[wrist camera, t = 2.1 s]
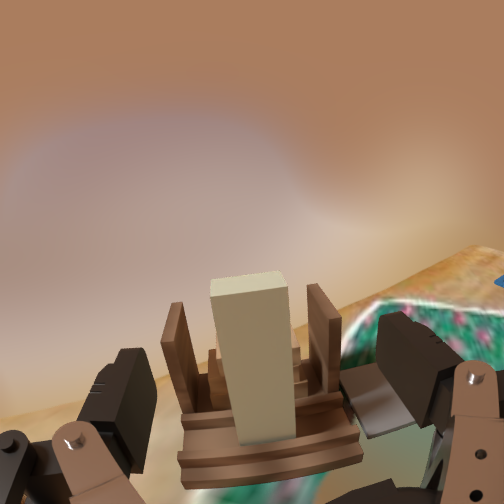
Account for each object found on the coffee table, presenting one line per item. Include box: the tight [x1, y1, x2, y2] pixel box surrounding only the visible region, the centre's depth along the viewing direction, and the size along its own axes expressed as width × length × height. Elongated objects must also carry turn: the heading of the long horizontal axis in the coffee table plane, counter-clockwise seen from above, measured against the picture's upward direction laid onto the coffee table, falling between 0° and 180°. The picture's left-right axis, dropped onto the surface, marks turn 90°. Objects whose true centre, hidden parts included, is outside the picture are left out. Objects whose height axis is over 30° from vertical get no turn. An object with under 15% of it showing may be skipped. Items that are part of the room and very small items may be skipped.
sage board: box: [210, 271, 296, 447], centre depth 24 cm, size 5×3×16 cm, turn 96°
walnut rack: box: [161, 283, 364, 489], centre depth 29 cm, size 16×16×12 cm
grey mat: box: [339, 362, 416, 439], centre depth 31 cm, size 11×11×1 cm
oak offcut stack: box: [208, 324, 308, 411], centre depth 33 cm, size 10×6×7 cm, turn 96°
